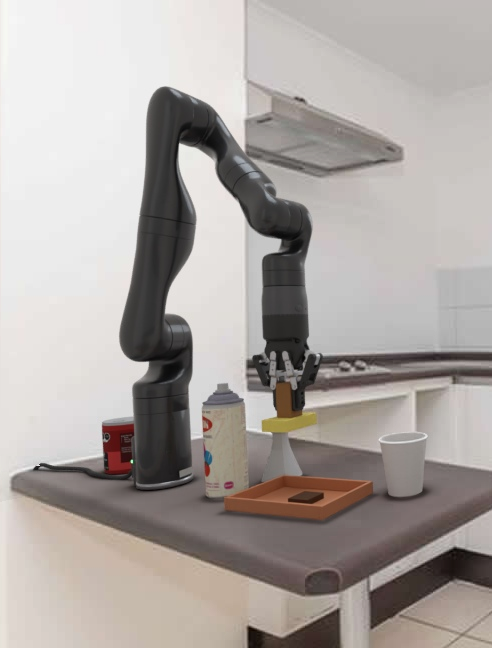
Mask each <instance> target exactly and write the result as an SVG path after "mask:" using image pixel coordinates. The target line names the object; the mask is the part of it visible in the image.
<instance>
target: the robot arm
mask: <svg viewBox="0 0 492 648" xmlns="http://www.w3.org/2000/svg"><path fill="white" fill-rule="evenodd" d="M180 145H183V146H185V147H188V148H194V149H197V150H198V151H200V152H202V153H203V154H205V155H206V156H208V158H210V159H211V160H212V161H213V162H214V171H215V175H216V178H217V180H218V181H219V183H220V184H221V186H222V187H223V188H224V190H226V192H227V193H228V194H229V195H230V196H231V197H232V198H233V199H234V200H235V201H236V202H237V203H238V205H239V208H240V210H241V212H242V214H243V216H244V218H245V221H246V223H247V225H248V227H250V229H251V230H253V231H254V232H255V233H256V234H258V235H259V236H262V237H264V238H269V239H275V240H276V239H277V240H280V243H279V247H278V250H277V251H274V252H269V253H266V254H264V255H263V256H262V258H261V287H262V289H261V298H260V302H261V304H260V305H261V326H262V328H261V329H262V339H263V340H264V341H265V347H264V350H263V351H262V352H261V353H258V354H253V355H252V357H251V360H252V362H253V365H254V368H255V370H256V372H257V375H258V377H259V380H260V383H261V385H262V386H263V387H268V388H270V390H272V400H273V401H272V405H273V408H274V411H275V412H277V407H276V383H282V382H287V377H288V378H289V382H290V383H291V388H292V389H293V390H291V396H292V410H293V411H300V410H302V411H303V410H304V407H305V406H306V388H307V387H309V386H312V385H314V384H315V382H316V381H317V380H316V379H317V376H318V374H319V370H320V367H321V364H322V361H323V358H324V355H323V354H322V352H314V351H312V350H310V346H309V344H308V338H309V337H310V328H309V327H310V324H309V300H308V294H307V288H306V268H305V267H306V266H305V265H306V260H307V256H308V252H309V247H310V243H311V240H312V234H313V229H314V228H313V227H314V224H313V217H312V214H311V212H310V211H309V209H308V208H307V206H306V205H304V204H303V203H300V202H298V201H294V200H289V199H285V198H280V197H277V187H276V186H275V183H274V182H273V180H272V179H270V177H269V176H268V175H267V174H266V173H265V172H264V171H263V170H262V169H261V168H260V167H259V166H258V165H257V164H256V163H255V162H254V161H253V160H252V159H251V157H249V156H248V154H247V153H246V152H245V151H244V150H243V148H242V147H241V145H240V144H239V143H238V142H237V140H236V139H235V137H234V135H233V133H232V132H231V131H230V130H229V128H228V126H227V125H226V123H225V122H224V120H223V119H222V117H221V116H220V114H219V113H218V112H217V110H216V109H215V108H214V107H213V106H211V104H209V103H208V102H206V101H203V100H202V99H199V98H197V97H195V96H193V95H191V94H188V93H186V92H183V91H180V90H179V89H177V88H174V87H171V86H165V85H164V86H159V87H158V88H156V90H155V91H154V92H153V93H152V95H151V97H150V98H149V101H148V104H147V110H146V118H145V161H144V162H145V164H144V179H143V187H142V197H141V201H140V209H139V214H138V215H139V216H138V222H137V232H136V244H135V251H134V252H135V253H134V258H133V266H132V272H131V278H130V284H129V289H128V293H127V297H126V300H125V304H124V309H123V312H122V316H121V321H120V325H119V331H118V332H119V333H118V339H119V340H118V342H119V346H120V350H121V352H122V353H123V355H124V356H125V357H126V358H127V359H129V360H130V361H132V362H136V363H148V366H147V370H146V372H145V373H144V375H143V376H141V377H140V378H139V379H137V380H136V381H134V383H132V387H131V394H132V395H131V396H132V413H133V416H132V417H133V418H134V436H133V437H132V439H131V442H132V461H131V470H130V471H129V472H128V473H126V474H122V475H115V474H107V473H102V472H97V471H94V470H93V469H91V468H88V467H85V466H68V465H67V466H62V465H52V464H50V463H46V462H39V463H40V464H39V463H38V464H39V465H40V466H36V465H35V466H34V467H33V468H32V471H38V470H40V468H45V469H49V470H52V471H78V472H85V473H86V474H89V475H90V476H92V477H96V478H101V479H105V480H116V481H118V480H119V481H120V480H122V481H123V480H128V479H130V478H132V479H133V480H132V481H133V487H136V489H137V490H143V491H151V490H152V491H153V490H161V489H168V488H174V487H178V486H181V485H184V484H187V483H189V482H191V481H193V479H194V466H193V452H192V451H193V449H192V433H191V431H192V429H191V411H190V409H191V408H190V394H189V392H190V389H189V388H190V387H189V386H190V383H191V381H192V377H193V372H194V371H193V370H194V339H193V332H192V329H191V327H190V324H189V323H188V321H187V320H186V319H185V318H184V317H183V316H181V315H179V314H175V313H166V308H167V301H168V296H169V293H170V289H171V287H172V285H173V283H174V281H175V279H176V278H177V277H178V275H179V274H180V272H181V271H182V269H183V267H184V266H185V265H186V263H187V261H188V260H189V258H190V256H191V255H192V252H193V249H194V244H195V239H196V229H197V221H198V219H197V212H196V207H195V204H194V202H193V200H192V198H191V197H192V196H191V195H190V192H189V191H188V188H187V186H186V184H185V181H184V179H183V176H182V173H181V172H182V171H181V169H180V162H179V160H180V159H179V157H180V156H179V154H180Z"/></svg>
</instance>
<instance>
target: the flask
mask: <svg viewBox="0 0 492 648" xmlns="http://www.w3.org/2000/svg"><path fill="white" fill-rule="evenodd" d="M270 433H271V434H272V442H271V450H270V453H269V455H268V459H267V463H266V466H265V469H264V470H263V474H262V477H261V480H260V482H261V483H263V482H266V481H269V480H271V479H274V478H277V477H279V476H282V475H292V476H303V471H302V469H301V467H300V465H299V463H298V461H297V459H296V457H295V455H294V452H293V449H292V448H291V447H292V446H291V444H290V439H289V432H287V433H279V432H270Z"/></svg>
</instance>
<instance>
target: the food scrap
mask: <svg viewBox="0 0 492 648" xmlns="http://www.w3.org/2000/svg"><path fill="white" fill-rule="evenodd" d="M323 498H324V493H323V492H311V491H303V492H301V493H299V494H297V495H294V496H292V497H290V498H288V502H293V503H304V504H313V503H315V502H317V501H319V500H321V499H323Z"/></svg>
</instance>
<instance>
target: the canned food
mask: <svg viewBox="0 0 492 648" xmlns="http://www.w3.org/2000/svg"><path fill="white" fill-rule="evenodd" d="M133 436H134V418H133V416H124V417H123V416H122V417H116V418H110V419H106V420H103V421H101V438H102V455H103V456H102V457H103V458H102V459H103V470H104V472H105V474H108V475H126V474H128V472H129V471H130V470H131V461H132V442H131V439H132V437H133Z"/></svg>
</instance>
